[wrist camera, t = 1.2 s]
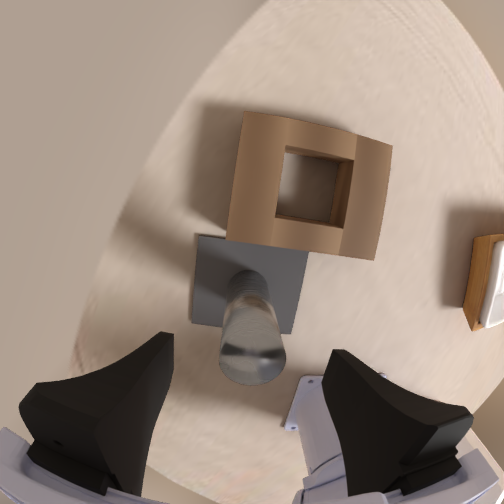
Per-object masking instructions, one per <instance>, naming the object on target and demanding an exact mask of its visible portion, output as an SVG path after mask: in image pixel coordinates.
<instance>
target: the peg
mask: <svg viewBox="0 0 504 504" xmlns="http://www.w3.org/2000/svg"><path fill="white" fill-rule="evenodd" d="M285 363H286V353H285V349H284V346H283V342H282V338H281V334H280V330H279V326H278V322H277V319H276V315H275V311H274V307H273V303H272V300H271V296H270V292H269V288H268V284H267V282H266V280H265V278H264V277H263V276H262V275H261V274H260V273H258V272H256V271H252V270H243V271H240V272H238V273H236V274H235V275H234V276H233V277H232V278H231V279H230V281H229V284H228V289H227V296H226V304H225V312H224V320H223V329H222V337H221V345H220V354H219V364H220V368H221V370H222V371H223V373H224V374H225V375H226V376H227V377H228V378H229V379H231V380H232V381H234V382H236V383H239V384H243V385H260V384H264V383H267V382H269V381H271V380H273V379H274V378H276V377H277V376H278V375H279V374H280V373H281V372H282V370H283V368H284V366H285Z"/></svg>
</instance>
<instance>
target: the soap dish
mask: <svg viewBox="0 0 504 504" xmlns="http://www.w3.org/2000/svg"><path fill="white" fill-rule="evenodd" d="M463 311H464V313H465V316H466V319H467V321H468V324H469V326H470V329H471V331H476V330H478V329H481V328H483V327H484V328H489V327H492V326H495V325H497V324H500V323H502V322H504V234H494V235H486V236H480V237H475V238H474V243H473V251H472V259H471V266H470V273H469V279H468V284H467V290H466V295H465V300H464V302H463Z"/></svg>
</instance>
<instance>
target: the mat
mask: <svg viewBox="0 0 504 504" xmlns="http://www.w3.org/2000/svg"><path fill="white" fill-rule="evenodd" d="M308 253H309V251H303V250H296V249H288V248H281V247H274V246H266V245H259V244H252V243H244V242H237V241H229V240H225V239H224V238H217V237H209V236H202V235H199V240H198V249H197V260H196V271H195V282H194V295H193V309H192V323H194V324H201V325H208V326H215V327H223V320H224V312H225V304H226V296H227V289H228V284H229V281H230V279H231V278H232V277H233V276H234V275H235V274H236V273H238V272H240V271H243V270H252V271H256V272H258V273H260V274H261V275H262V276H263V277H264V278H265V280H266V282H267V284H268V288H269V292H270V296H271V300H272V303H273V307H274V311H275V315H276V319H277V322H278V326H279V330H280V334H291V332H292V328H293V323H294V319H295V315H296V310H297V306H298V301H299V297H300V292H301V288H302V283H303V278H304V273H305V268H306V263H307V258H308Z"/></svg>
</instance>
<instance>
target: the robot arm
mask: <svg viewBox="0 0 504 504" xmlns="http://www.w3.org/2000/svg"><path fill="white" fill-rule="evenodd" d="M173 370H174V334H172V333H166V332H159V333H158V334H156V335H155V336H154V337H152V338H151V339H150V340H148V341H147V342H146V343H144V344H143V345H142V346H140V347H139V348H138V349H136V350H135V351H133V352H132V353H130V354H129V355H127V356H125V357H124V358H122V359H120V360H119V361H117V362H115V363H113V364H111V365H109V366H107V367H104V368H102V369H100V370H97V371H94V372H91V373H89V374H86V375H83V376H79V377H75V378H71V379H66V380H60V381H52V382H42V383H36V384H35V385H34V387H33V388H32V389H31V390H30V391H29V393H28V394H27V395H26V396H25V398H24V399H23V400H22V401H21V402H20V404H19V411H20V415H21V417H22V419H23V421H24V423H25V425H26V427H27V428H28V430H29V432H30V433H31V435H32V437H33V438H34V442H33V444H32V445H30V444H29V443H28V442H27V441H26V440H24V439H23V438H22V437H20V436H18V435H17V434H15V433H14V432H12V431H11V430H9V429H8V428H6V427H3V428H2V429H1V431H0V490H1V491H2V492H3V493H4V494H5V495H6V496H7V497H9V498H10V499H11V500H12V501H14V502H15V503H17V504H168V503H163V502H159V501H154V500H150V499H146V498H142V497H141V493H142V492H141V491H142V485H143V478H144V472H145V466H146V461H147V456H148V451H149V446H150V442H151V438H152V433H153V430H154V427H155V423H156V421H157V418H158V416H159V413H160V410H161V408H162V405H163V403H164V400H165V398H166V395H167V392H168V390H169V387H170V383H171V379H172V374H173ZM386 378H387V376H386V375H385V374H378V373H377V372H375V371H374V370H373V369H371V368H370V367H368V366H367V365H366V364H364V363H363V362H362V361H360V360H359V359H358V358H356V357H355V356H354V355H352V354H351V353H349V352H348V351H346V350H342V349H333V350H332V353H331V356H330V359H329V362H328V365H327V368H326V371H325V373H324V376H303V377H301V378H300V381H299V384H298V387H297V390H296V393H295V396H294V399H293V402H292V405H291V408H290V411H289V413H288V416H287V419H286V422H285V424H284V429H285V430H287V431H297V430H299V434H300V439H301V443H302V448H303V452H304V456H305V461H306V465H307V470H308V474H309V476H308V477H305V478H303V484H304V489H301V490H299V491H298V492H297V493H296V495H295V497H294V500H293V502H292V504H473V503H474V502H475V501H476V500H478V499H479V498H480V497H481V496H482V495H484V494H485V493H486V492H487V491H488V490H489V489H490V488H491V487H493V486H494V485H495V484H496V483H497V482H498V481H499V478H498V476H497V475H496V473H495V472H494V470H493V469H492V467H491V466H490V465H489V463H488V462H487V460H486V459H485V458H484V456H483V455H482V453H481V452H480V451H479V449H478V448H476V449H474V450H472V451H471V452H469V453H467V454H465V455H463V456H462V457H460V458H459V459H457V458H456V456H455V455H457V453H458V450H457V449H456V446H457V444H458V443H459V442H460V441H461V440H462V438H463V437H464V436H465V435H466V433H467V432H468V430H469V429H470V427H471V425H472V423H473V419H474V417H473V415H472V414H471V413H470V412H469V411H468V409H467V408H466V407H464V406H458V405H451V404H446V403H442V402H438V401H434V400H431V399H427V398H425V397H422V396H419V395H417V394H414V393H412V392H410V391H407V390H406V389H404V388H402V387H400V386H398V385H396V384H394V383H392V382H391V381H389V380H388V379H386ZM309 380H312V381H309Z"/></svg>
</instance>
